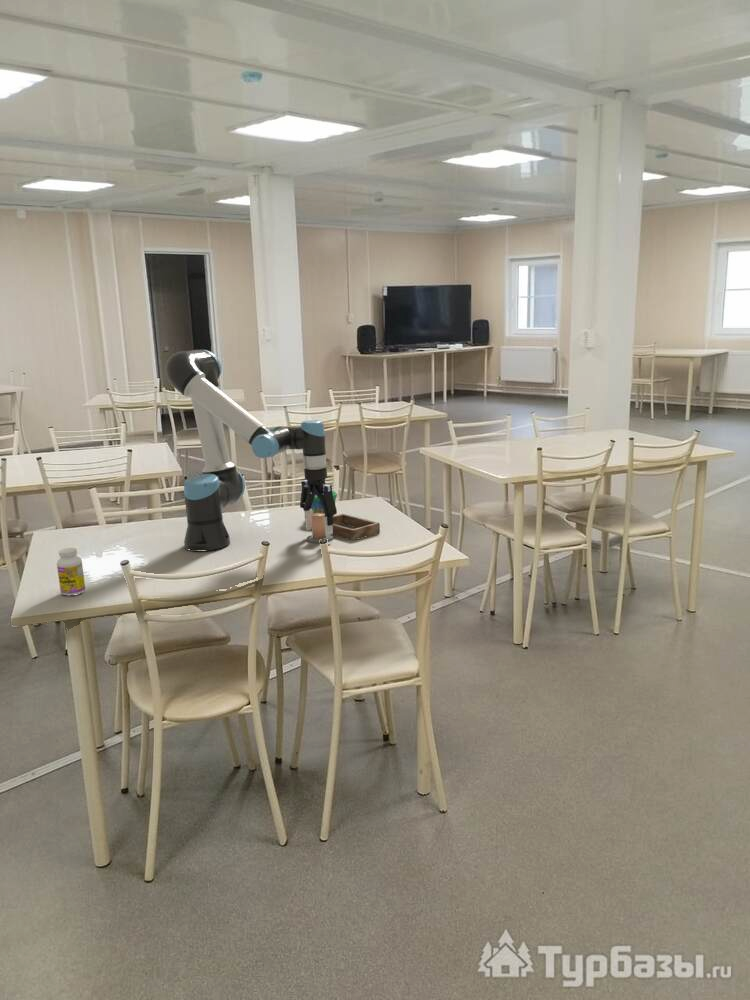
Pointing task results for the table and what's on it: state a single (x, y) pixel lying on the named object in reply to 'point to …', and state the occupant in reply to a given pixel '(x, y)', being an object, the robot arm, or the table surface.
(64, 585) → the supplement bottle
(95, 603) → the table surface
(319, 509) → the snack cup
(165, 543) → the table surface
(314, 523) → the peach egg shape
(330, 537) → the slate coaster
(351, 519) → the tray
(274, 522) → the table surface
